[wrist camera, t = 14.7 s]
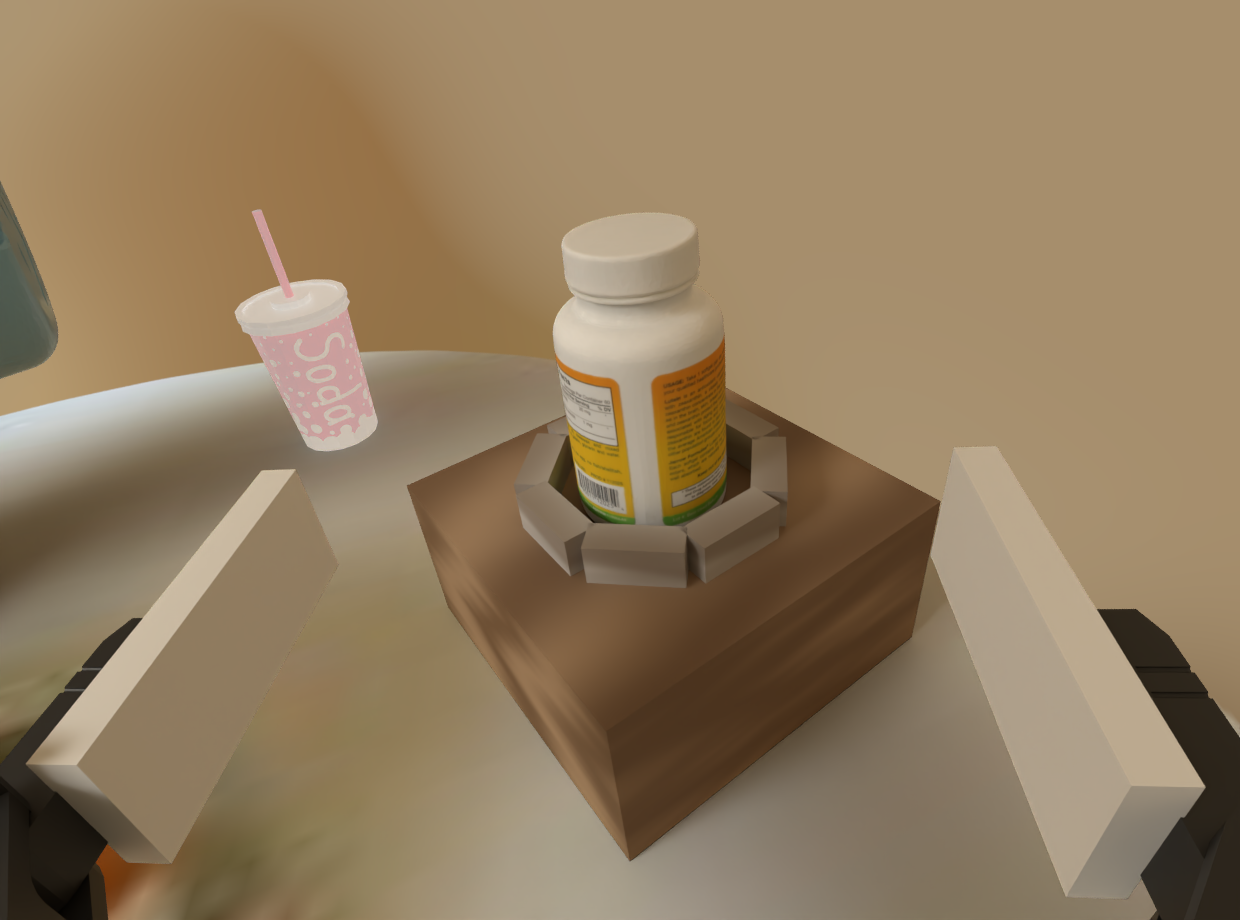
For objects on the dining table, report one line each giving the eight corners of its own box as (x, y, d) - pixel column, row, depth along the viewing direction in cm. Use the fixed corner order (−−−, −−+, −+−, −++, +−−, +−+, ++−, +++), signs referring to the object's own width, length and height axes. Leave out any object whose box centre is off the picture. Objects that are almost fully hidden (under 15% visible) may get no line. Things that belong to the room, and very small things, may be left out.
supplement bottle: (723, 449, 28) (719, 197, 22) (730, 542, 24) (727, 259, 18) (589, 454, 29) (551, 211, 23) (571, 545, 24) (520, 273, 19)
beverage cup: (290, 468, 43) (185, 238, 35) (294, 419, 48) (203, 207, 40) (392, 442, 44) (314, 214, 36) (386, 397, 49) (316, 187, 41)
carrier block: (448, 607, 32) (396, 454, 27) (686, 479, 38) (679, 335, 33) (629, 861, 23) (599, 695, 18) (911, 636, 28) (948, 466, 24)
